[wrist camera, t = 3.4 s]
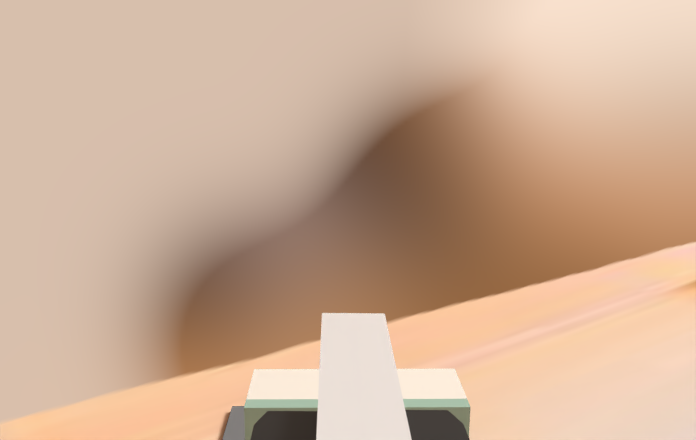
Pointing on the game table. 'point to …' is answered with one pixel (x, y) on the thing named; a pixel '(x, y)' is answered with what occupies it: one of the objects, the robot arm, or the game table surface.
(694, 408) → the game table surface
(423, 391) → the tile
